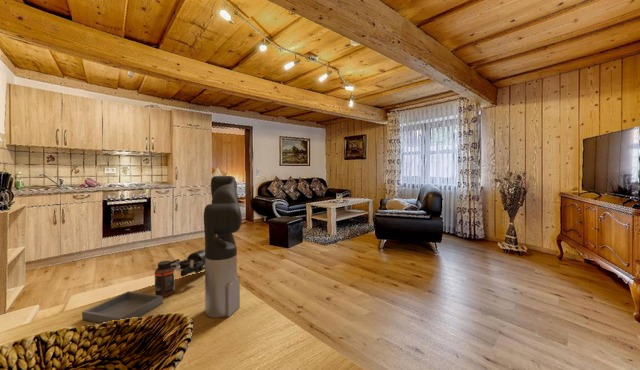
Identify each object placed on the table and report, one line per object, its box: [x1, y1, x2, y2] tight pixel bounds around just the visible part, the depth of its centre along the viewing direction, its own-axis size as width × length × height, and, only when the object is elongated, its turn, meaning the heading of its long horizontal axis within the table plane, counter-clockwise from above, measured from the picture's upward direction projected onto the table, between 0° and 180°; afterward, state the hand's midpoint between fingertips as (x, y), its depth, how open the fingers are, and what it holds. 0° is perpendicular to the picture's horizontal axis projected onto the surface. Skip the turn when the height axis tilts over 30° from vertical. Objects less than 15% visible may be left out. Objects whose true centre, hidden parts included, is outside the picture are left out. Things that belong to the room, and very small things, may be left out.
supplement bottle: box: [154, 260, 175, 298], centre depth 92 cm, size 6×6×11 cm
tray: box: [81, 291, 164, 324], centre depth 80 cm, size 14×14×2 cm
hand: (171, 272), depth 95 cm, fingers open, 8 cm apart
